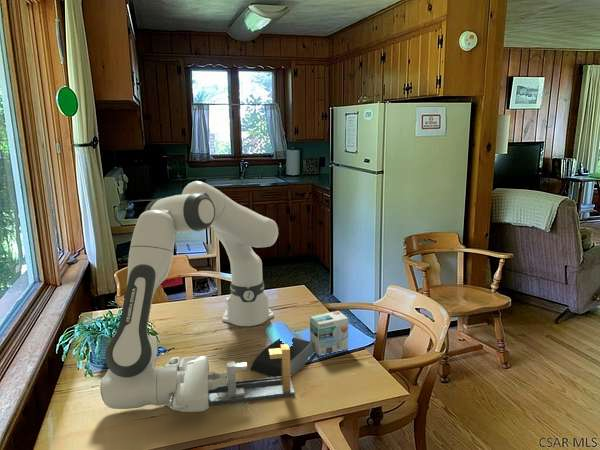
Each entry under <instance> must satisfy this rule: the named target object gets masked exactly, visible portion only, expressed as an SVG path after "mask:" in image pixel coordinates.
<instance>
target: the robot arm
mask: <svg viewBox="0 0 600 450" xmlns="http://www.w3.org/2000/svg"><path fill="white" fill-rule="evenodd" d="M144 209H145V210H144V211H143V212H142V213H141V214H139V217H138V219H137V220H136V221H137V222H136V224H135V226H134V228H133V233H132V237H131V242H130V246H129V252H128V260H127V279H126V280H127V282H126V289H125V294H124V295H125V296H124V300H123V305H122V309H121V315H120V318H119V319H120V320H119V323H118V326H117V329H116V331H115V332H116V333H115V334H114V336H113V338H112V339H111V341H110V342H109V344H108V346H107V348H106V349H105V352H104V359H105V363H106V366H107V368H108V369H107V371H106V373H105V374H104V376H103V377H102V378H101V381H100V386H99V387H100V396H101V398H102V401H103V403H104V405H105V406H106V407H107V408H109V409H114V410H128V409H130V410H131V409H139V408H140V409H141V408H143V407H145V406H149V405H150V406H165V405H167V406H168V408H169V409H171V410H173V411H178V412H181V413H182V412H183V413H194V412H205V411H206V410H207V409H209V407H208V402H209V390H214V389H216V388H218V387H219V386H223V385H227V382H228V379H227V372H223V373H221V372H218V371H217V372H216V371H210V361H209V357H207V356H205V355H195V356H194V355H193V356H192V355H191V356H185V357H182V358H180V356H175V357H174V356H173V357H171V358H170V360H169V361H168V362H167V363H166V364H165V365H164V366H163V367H155V365H156V361H157V355H158V345H157V342H156V341H155V339H154V337H152V336H151V335H150V334H148V327H149V320H150V314H151V308H152V303H153V299H154V294H155V292H156V291H157V289H158V287H159V286H160V285H161V284H162V283H163V282H164V281H165V280H166V279H167V278H168V276H169V272H170V270H171V266H172V262H173V256H174V249H175V236H176V234H184V233H185V234H186V233H191V232H200V231H203V230H206V229H208V228H210V227H211V228H212V230H213V233H214V235H215V237H216V238H217V239H218V240H219V242H221V244H222V246H223V247H224V249H225V252H226V254H227V256H228V260H229V263H230V275H231V276H230V277H231V278H230V279H231V282H230V287H229V288H230V294H229V296H228V297H225V298H226V299H225V303H226V305H227V306H226V309H225V311H224V314H223V316H222V322H224V323H225V322H226V323H229V324H232V325H233V326H238V327H239V326H240V327H252V326H258V325H261V324H263V323H265V322H266V321H268V320H269V319H272V318H274V317H275V314H274V312H273V311H272V310H271V309H270V304H269V303H270V302H269V295H267V293H266V292H265V283H264V280H263V262H262V259H261V258H260V256H259V255H258V254H256V252H255V251H254V250H253V248H267V247H271V246H273V245H274V244H275V243H276V241H277V239H278V237H279V227H278V224H277V223H276V221H275V219H274V220H273V219H271V218H269V217H267V216H264V215H262V214H259V213H258V212H256V211H253V210H252V209H250V208H249V207H246V206H243V205H241V204H239V203H237V202H236V201H234V200H232V199H231V198H230V197H228V196H227V195H226V194H225V193H223V192H222V191H221V190H219V189H217V188H215V186H212V185H210V184H208V183H206V182H203V181H199V180H194V181H192V182H189V183H187V185H186V186H185V187H184V188H183V190H182V192H181V194H175V195H171V196H166V197H164V198H163V197H160V198H157V199H154V200H152V201H151V202H149V203H148V204H147V205H146V206H145V208H144ZM252 247H253V248H252Z"/></svg>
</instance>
